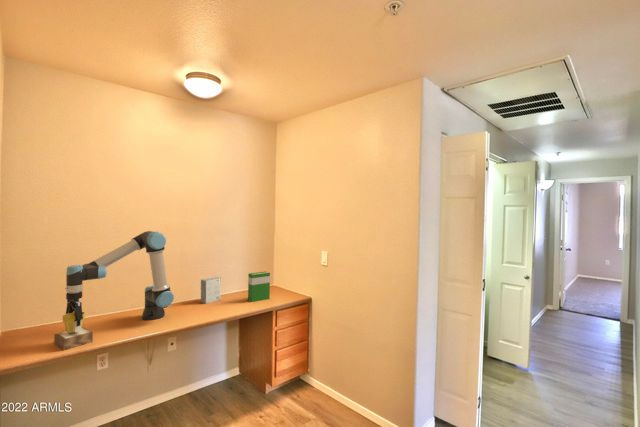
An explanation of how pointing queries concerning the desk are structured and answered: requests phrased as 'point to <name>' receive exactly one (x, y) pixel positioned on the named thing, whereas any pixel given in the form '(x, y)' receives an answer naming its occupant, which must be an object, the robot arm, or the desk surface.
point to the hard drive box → (210, 289)
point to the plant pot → (71, 321)
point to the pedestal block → (73, 338)
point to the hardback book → (258, 286)
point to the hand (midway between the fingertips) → (73, 329)
